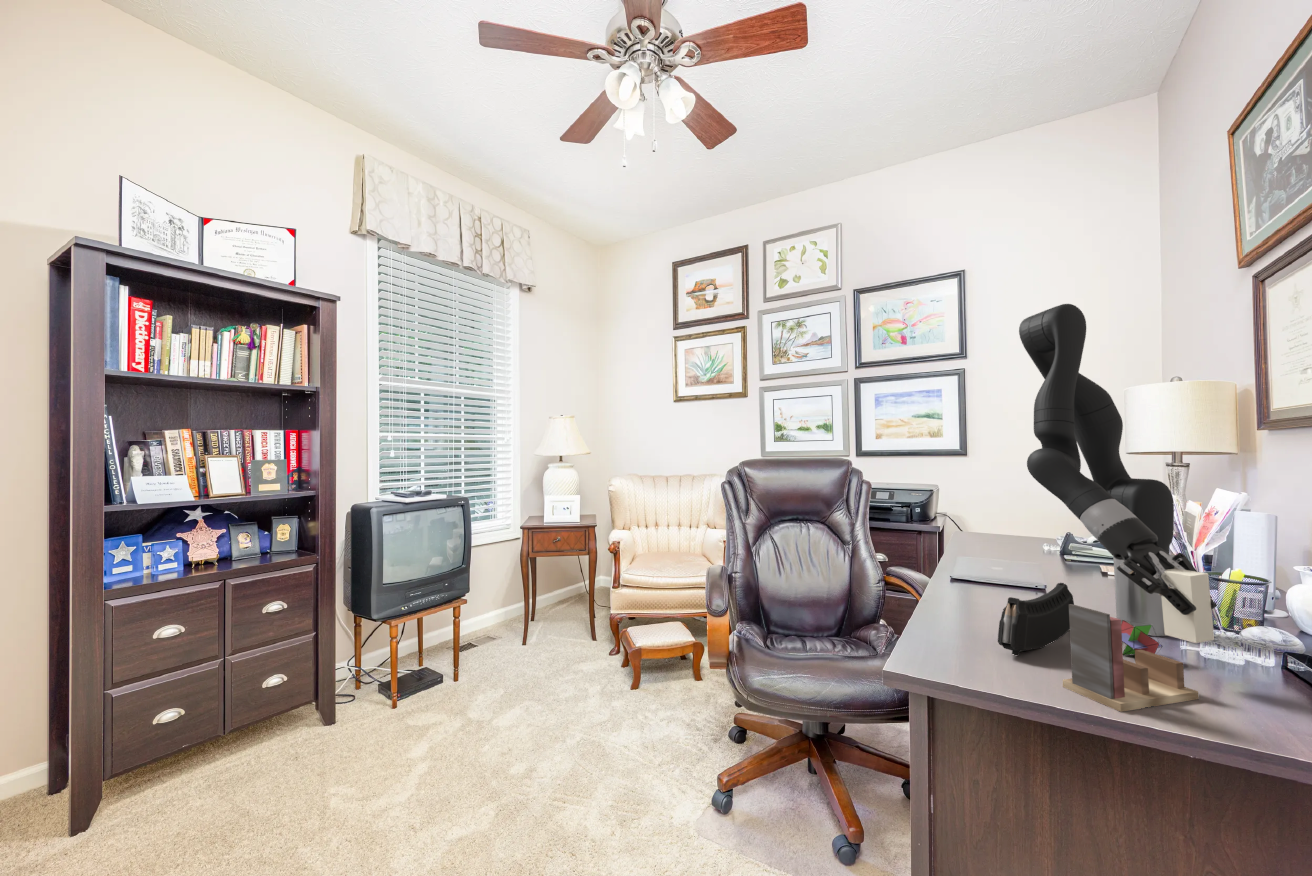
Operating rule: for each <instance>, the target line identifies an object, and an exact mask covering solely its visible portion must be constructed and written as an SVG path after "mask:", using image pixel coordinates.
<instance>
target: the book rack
mask: <svg viewBox="0 0 1312 876" xmlns="http://www.w3.org/2000/svg"><path fill="white" fill-rule="evenodd" d="M1069 622H1070V630H1069V638H1070V640H1069V641H1070V658H1071V659H1070V662H1071V678H1066V679H1062V687H1063V688H1064V689H1066V690H1068V691H1071V692H1074V693H1075V694H1079V695H1080V696H1083V697H1085V698H1087V697H1088V698H1087V699H1089V700H1093V701H1094V702H1097V703H1099V704H1102V705H1103V706H1106V707H1109V708H1111V709H1113V710H1116V711H1118V712H1120V713H1122V712H1129V711H1134V710H1140V709H1141V708H1142V709H1146V708H1145V707H1148V708H1152V707H1151V706H1154V707H1158V706H1165V705H1170V704H1176V703H1181V702H1182V703H1183V702H1189V701H1196V700H1199V690H1195V689H1192V688H1189V687H1187V686H1185V672H1184V662H1183V661H1179V660H1176V659H1172V658H1169V657H1166V656H1164V655H1160V654H1158V653H1155V654H1154V653H1151V652H1148V651H1144V650H1135V654H1134V660H1135V662H1132V661H1129V660H1127V659H1124V655H1123V652H1124V650H1123V642H1122V630H1121V619H1117V617H1113V616H1111V614H1109V613H1105V612H1103V611H1098V610H1095V609H1092V608H1089V607H1085V606H1080V605H1076V604H1074V605H1073V604H1069Z"/></svg>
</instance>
